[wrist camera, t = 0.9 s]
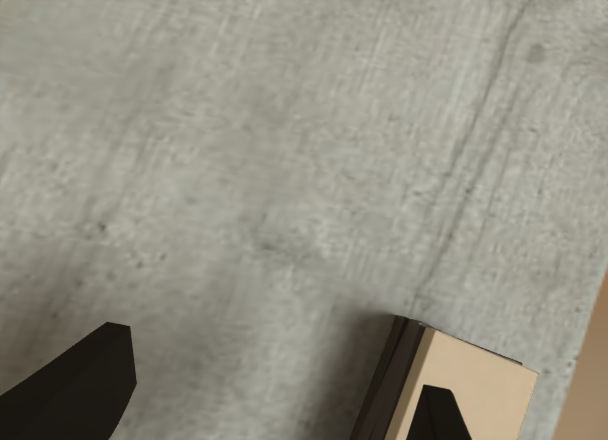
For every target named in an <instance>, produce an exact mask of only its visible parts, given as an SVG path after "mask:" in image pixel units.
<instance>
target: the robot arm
mask: <svg viewBox="0 0 608 440" xmlns="http://www.w3.org/2000/svg"><path fill="white" fill-rule="evenodd" d="M136 384H137V381H136V372H135V364H134V355H133V347H132V338H131V330H130V326H126V325H121V324H116V323H111V322H106V323H104V324H103V325H102V326H100V327H99V328H97V329H96V330H94V331H93V332H92V333H90V334H89V335H87V336H86V337H85V338H83V339H82V340H80V341H79V342H78V343H76V344H75V345H74V346H72V347H71V348H69V349H68V350H67V351H65V352H64V353H62V354H61V355H60V356H58V357H57V358H55V359H54V360H53V361H51V362H50V363H48V364H47V365H45V366H44V367H43V368H41V369H40V370H38V371H37V372H35V373H34V374H32V375H31V376H30V377H28V378H27V379H25V380H24V381H22V382H21V383H19V384H18V385H16V386H15V387H13V388H12V389H10V390H9V391H7V392H6V393H4V394H2V395H1V396H0V440H109V438H110V437H111V435H112V433H113V432H114V430H115V428H116V427H117V425H118V423H119V421H120V419H121V417H122V415H123V413H124V411H125V409H126V407H127V405H128V402H129V400H130V398H131V396H132V393H133V391H134V389H135V387H136ZM406 440H472V438H471V436H470V433H469V431H468V429H467V426H466V424H465V422H464V419H463V417H462V414H461V412H460V409H459V407H458V404H457V402H456V399H455V396H454V394H453V392H452V391H451V390H450V389H446V388H441V387H436V386H431V385H426V384H423V387H422V390H421V394H420V397H419V400H418V403H417V406H416V409H415V413H414V416H413V419H412V422H411V425H410V428H409V431H408V435H407V438H406Z"/></svg>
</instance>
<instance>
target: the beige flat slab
mask: <svg viewBox="0 0 608 440" xmlns="http://www.w3.org/2000/svg"><path fill="white" fill-rule="evenodd" d="M538 375H539V373H538V372H535V371H533V370H531V369H528V368H526V367H523V366H521V365H519V364H516V363H514V362H512V361H509V360H507V359H504V358H502V357H500V356H497V355H495V354H493V353H490V352H488V351H486V350H483V349H481V348H478V347H476V346H474V345H471V344H469V343H467V342H464V341H462V340H459V339H457V338H455V337H452V336H450V335H448V334H445V333H443V332H440V331H438V330H435V329H432V328H428V327H426V328H425V331H424V334H423V336H422V339H421V342H420V344H419V347H418V350H417V353H416V355H415V358H414V361H413V363H412V366H411V369H410V372H409V374H408V377H407V380H406V382H405V385H404V388H403V391H402V393H401V396H400V399H399V401H398V404H397V407H396V410H395V412H394V415H393V418H392V420H391V423H390V426H389V428H388V431H387V434H386V437H385V439H384V440H406V438H407V435H408V431H409V428H410V425H411V422H412V419H413V416H414V413H415V409H416V406H417V403H418V400H419V397H420V394H421V390H422V387H423V384H426V385H431V386H436V387H441V388H446V389H450V390H451V391H452V392H453V394H454V396H455V399H456V402H457V404H458V407H459V409H460V412H461V414H462V417H463V419H464V422H465V424H466V426H467V429H468V431H469V433H470V436H471V438H472V440H517V439H518V436H519V433H520V430H521V427H522V424H523V421H524V418H525V415H526V412H527V409H528V406H529V403H530V400H531V397H532V394H533V391H534V388H535V384H536V381H537V378H538Z"/></svg>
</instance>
